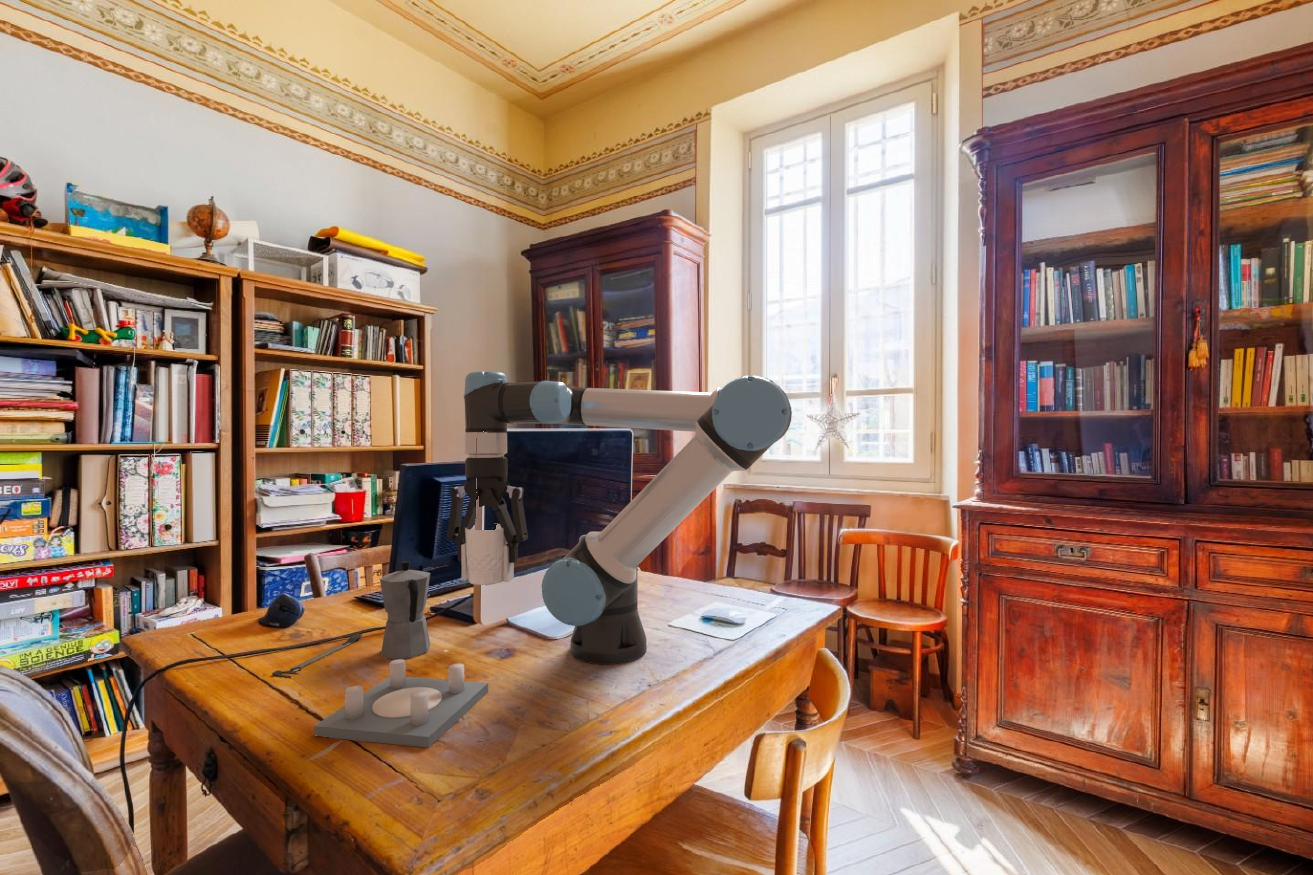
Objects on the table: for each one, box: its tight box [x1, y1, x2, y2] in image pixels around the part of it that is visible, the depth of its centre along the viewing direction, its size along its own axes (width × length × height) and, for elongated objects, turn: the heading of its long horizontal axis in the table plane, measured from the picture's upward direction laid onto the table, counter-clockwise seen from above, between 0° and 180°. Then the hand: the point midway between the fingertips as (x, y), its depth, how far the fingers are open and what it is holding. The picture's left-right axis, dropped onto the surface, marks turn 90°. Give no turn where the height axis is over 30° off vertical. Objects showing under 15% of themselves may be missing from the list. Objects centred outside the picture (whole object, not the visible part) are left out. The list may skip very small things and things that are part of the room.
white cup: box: [465, 523, 508, 586], centre depth 111 cm, size 8×8×10 cm
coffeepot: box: [379, 560, 431, 660], centre depth 118 cm, size 15×9×18 cm, turn 33°
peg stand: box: [313, 659, 489, 748], centre depth 93 cm, size 18×18×6 cm
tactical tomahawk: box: [271, 633, 363, 679], centre depth 117 cm, size 21×7×1 cm, turn 166°
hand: (487, 579), depth 111 cm, fingers closed on white cup, 8 cm apart
